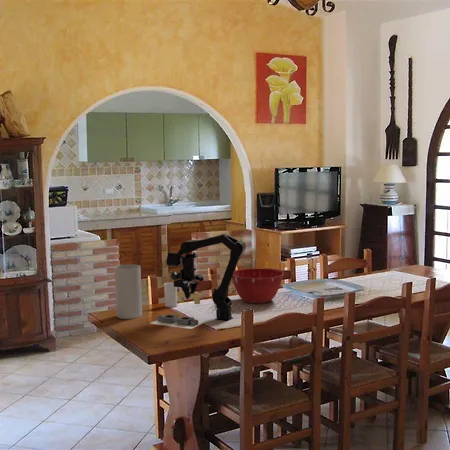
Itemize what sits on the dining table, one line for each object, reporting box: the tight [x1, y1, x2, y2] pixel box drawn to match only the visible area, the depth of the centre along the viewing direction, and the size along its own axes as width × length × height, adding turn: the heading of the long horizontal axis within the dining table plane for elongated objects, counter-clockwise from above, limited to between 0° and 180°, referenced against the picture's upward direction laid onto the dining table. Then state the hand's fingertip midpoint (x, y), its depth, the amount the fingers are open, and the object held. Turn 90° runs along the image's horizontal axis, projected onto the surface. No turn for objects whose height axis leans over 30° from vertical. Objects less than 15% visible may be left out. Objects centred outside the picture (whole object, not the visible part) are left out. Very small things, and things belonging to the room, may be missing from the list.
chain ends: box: [157, 313, 199, 327], centre depth 299 cm, size 21×6×2 cm, turn 62°
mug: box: [163, 281, 183, 308], centre depth 334 cm, size 10×7×12 cm, turn 124°
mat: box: [149, 317, 206, 330], centre depth 299 cm, size 23×13×1 cm, turn 62°
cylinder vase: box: [114, 264, 143, 320], centre depth 313 cm, size 12×12×25 cm
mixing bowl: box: [231, 267, 284, 305], centre depth 340 cm, size 28×28×15 cm
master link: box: [177, 290, 202, 305], centre depth 308 cm, size 12×3×5 cm, turn 62°
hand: (189, 298), depth 308 cm, fingers closed on master link, 3 cm apart
